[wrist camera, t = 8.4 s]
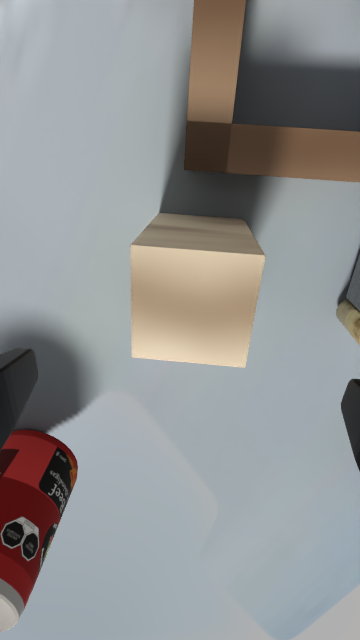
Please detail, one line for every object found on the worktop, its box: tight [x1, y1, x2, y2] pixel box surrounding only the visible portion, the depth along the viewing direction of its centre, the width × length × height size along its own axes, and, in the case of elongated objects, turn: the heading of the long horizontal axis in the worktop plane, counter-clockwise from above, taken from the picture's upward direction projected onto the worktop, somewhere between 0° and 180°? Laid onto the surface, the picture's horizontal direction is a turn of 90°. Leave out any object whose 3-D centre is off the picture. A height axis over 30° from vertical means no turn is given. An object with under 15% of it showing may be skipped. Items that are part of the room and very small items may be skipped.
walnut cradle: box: [184, 0, 360, 182], centre depth 14 cm, size 12×10×3 cm
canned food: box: [0, 430, 78, 632], centre depth 25 cm, size 8×8×11 cm
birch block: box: [131, 213, 265, 368], centre depth 17 cm, size 5×5×8 cm
